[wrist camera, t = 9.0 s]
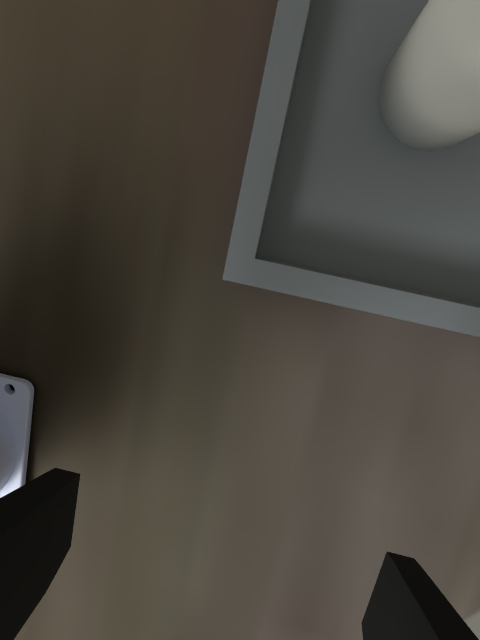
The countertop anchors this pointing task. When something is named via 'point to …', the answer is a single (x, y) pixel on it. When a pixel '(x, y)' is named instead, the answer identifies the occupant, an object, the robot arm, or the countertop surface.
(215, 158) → the countertop surface
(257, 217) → the tray
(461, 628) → the robot arm
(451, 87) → the cell
